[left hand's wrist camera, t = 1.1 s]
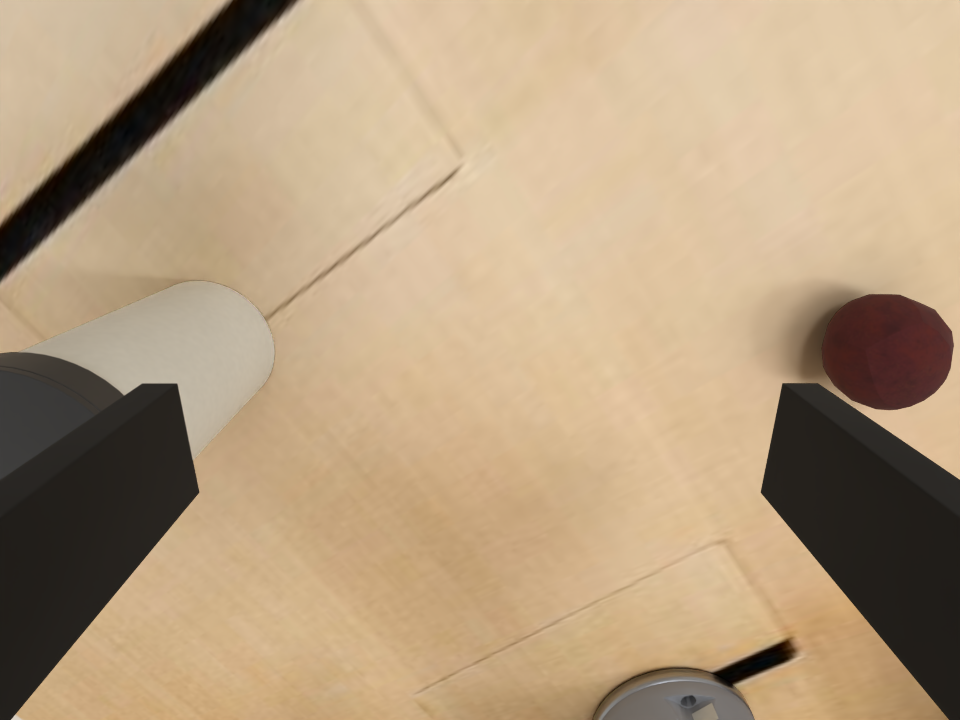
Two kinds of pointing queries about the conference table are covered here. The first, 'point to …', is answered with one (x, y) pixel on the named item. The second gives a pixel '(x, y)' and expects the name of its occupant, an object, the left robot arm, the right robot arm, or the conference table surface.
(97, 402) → the lid
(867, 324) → the potato
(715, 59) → the conference table surface
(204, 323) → the jar
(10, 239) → the conference table surface
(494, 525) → the conference table surface
